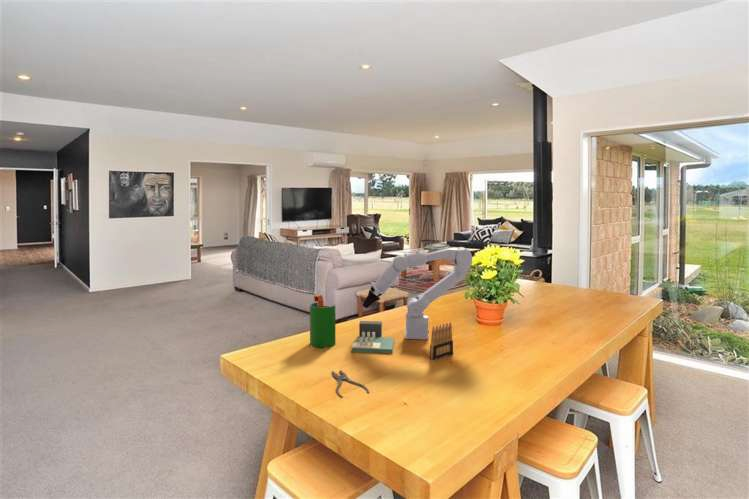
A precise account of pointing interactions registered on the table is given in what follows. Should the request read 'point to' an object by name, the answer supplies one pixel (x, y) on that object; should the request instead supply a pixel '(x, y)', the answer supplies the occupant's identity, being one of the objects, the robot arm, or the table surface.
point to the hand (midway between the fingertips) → (365, 304)
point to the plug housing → (370, 328)
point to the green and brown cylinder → (322, 323)
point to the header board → (373, 344)
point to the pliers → (344, 377)
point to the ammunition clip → (441, 342)
